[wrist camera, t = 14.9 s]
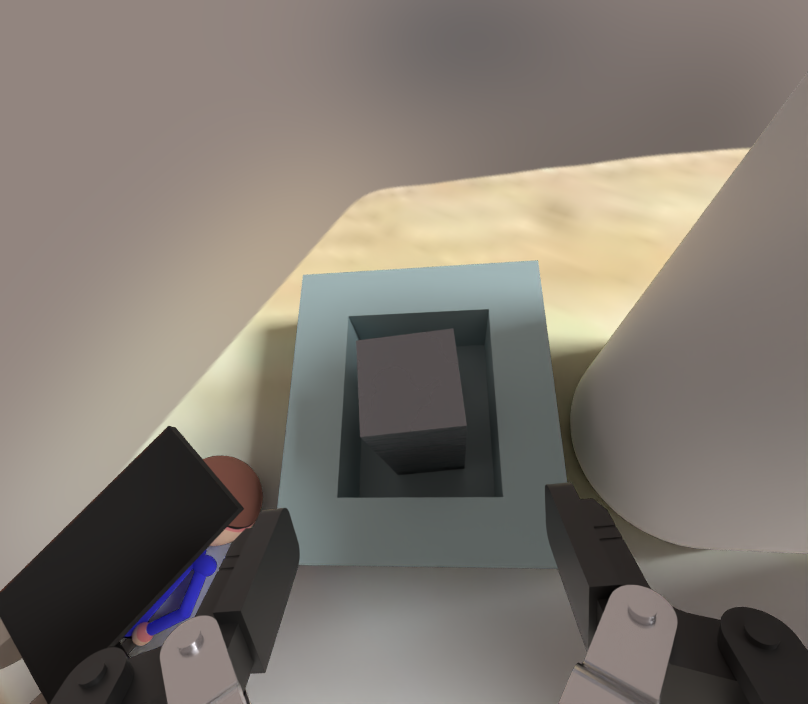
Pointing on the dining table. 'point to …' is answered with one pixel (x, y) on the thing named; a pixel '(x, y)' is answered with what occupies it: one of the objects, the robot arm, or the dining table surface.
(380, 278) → the well block
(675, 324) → the cylinder vase
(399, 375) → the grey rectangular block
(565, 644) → the dining table surface
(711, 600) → the dining table surface
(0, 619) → the figurine character
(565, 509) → the robot arm
